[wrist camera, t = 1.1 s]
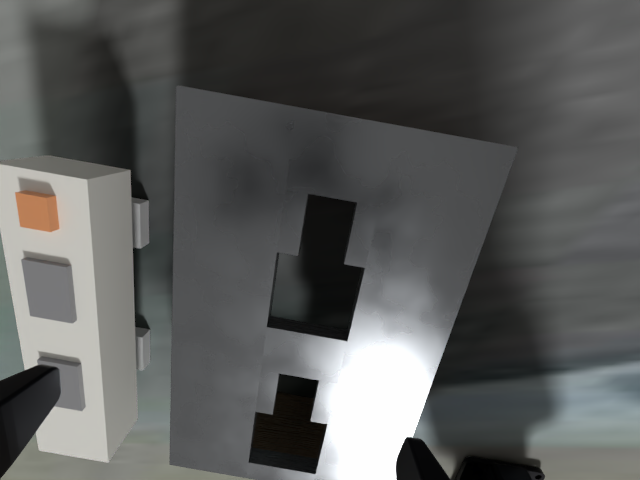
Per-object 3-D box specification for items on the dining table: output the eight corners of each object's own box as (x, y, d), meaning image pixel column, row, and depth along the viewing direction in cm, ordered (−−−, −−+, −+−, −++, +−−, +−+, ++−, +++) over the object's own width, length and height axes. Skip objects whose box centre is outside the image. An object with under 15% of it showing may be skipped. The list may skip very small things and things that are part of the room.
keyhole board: (377, 421, 26) (388, 502, 21) (205, 391, 26) (169, 464, 21) (464, 139, 19) (518, 147, 13) (225, 96, 19) (176, 84, 13)
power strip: (159, 387, 26) (102, 470, 20) (105, 378, 26) (32, 458, 20) (159, 163, 20) (78, 181, 14) (89, 150, 20) (-24, 163, 14)
